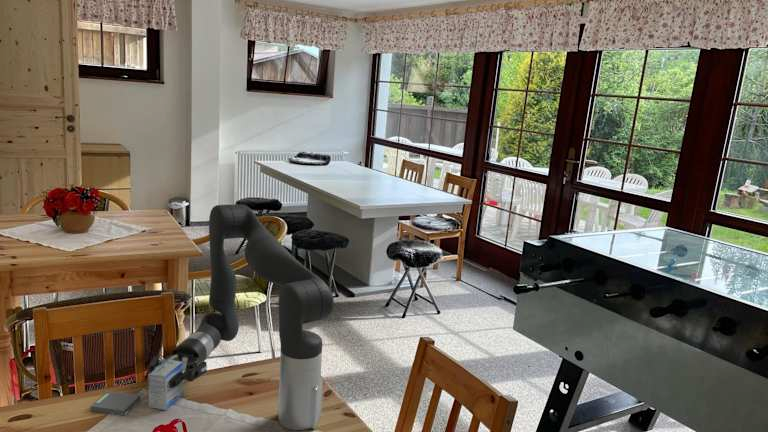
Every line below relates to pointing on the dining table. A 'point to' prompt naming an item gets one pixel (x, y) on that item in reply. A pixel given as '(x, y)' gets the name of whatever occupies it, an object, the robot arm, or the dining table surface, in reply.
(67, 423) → the dining table surface
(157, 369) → the medicine box
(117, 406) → the plate
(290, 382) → the robot arm
